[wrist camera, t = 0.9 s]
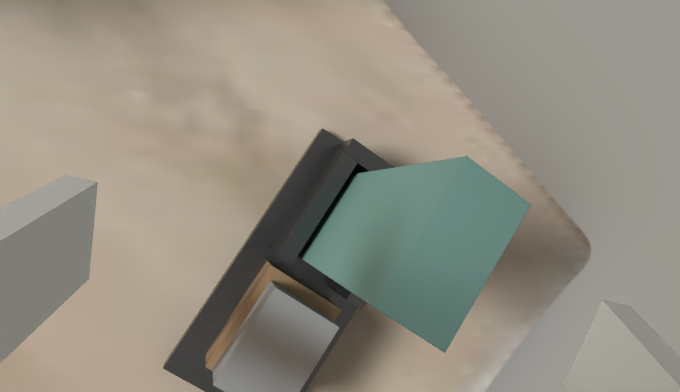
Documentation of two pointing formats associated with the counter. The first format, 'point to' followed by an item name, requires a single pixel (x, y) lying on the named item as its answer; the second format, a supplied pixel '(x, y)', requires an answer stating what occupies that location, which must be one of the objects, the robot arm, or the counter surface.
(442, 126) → the counter surface
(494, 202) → the plank
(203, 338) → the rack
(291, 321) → the offcut top
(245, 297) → the block
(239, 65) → the counter surface
